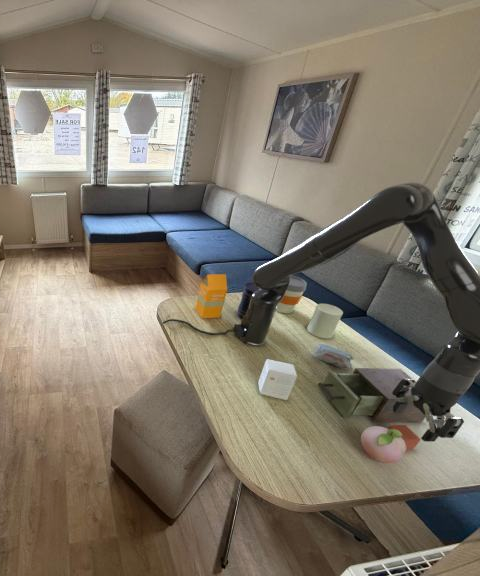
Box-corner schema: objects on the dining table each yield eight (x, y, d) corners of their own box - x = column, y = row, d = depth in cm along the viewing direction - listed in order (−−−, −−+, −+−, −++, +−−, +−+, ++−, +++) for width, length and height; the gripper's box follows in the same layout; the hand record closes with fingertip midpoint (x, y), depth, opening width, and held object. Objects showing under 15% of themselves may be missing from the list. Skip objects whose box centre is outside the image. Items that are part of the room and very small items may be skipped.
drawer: (329, 417, 91) (340, 398, 88) (306, 388, 101) (315, 370, 98) (389, 418, 92) (402, 400, 88) (360, 389, 102) (370, 371, 98)
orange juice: (195, 309, 145) (203, 270, 136) (212, 308, 146) (222, 270, 137) (201, 318, 138) (210, 278, 129) (220, 317, 139) (230, 278, 130)
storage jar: (234, 309, 146) (241, 281, 139) (255, 311, 145) (264, 283, 138) (239, 321, 137) (248, 292, 130) (262, 323, 136) (272, 294, 129)
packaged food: (349, 375, 109) (354, 364, 106) (310, 360, 115) (315, 349, 113) (351, 363, 115) (356, 352, 112) (314, 349, 121) (318, 339, 119)
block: (396, 450, 84) (404, 439, 81) (382, 435, 88) (389, 424, 85) (412, 450, 84) (421, 439, 82) (397, 435, 88) (405, 424, 85)
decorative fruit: (362, 435, 87) (378, 411, 82) (398, 459, 81) (418, 434, 76) (347, 452, 83) (363, 427, 78) (385, 478, 77) (405, 453, 72)
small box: (283, 388, 102) (294, 364, 97) (287, 401, 98) (298, 376, 93) (257, 382, 104) (266, 358, 100) (259, 394, 100) (268, 369, 95)
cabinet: (373, 422, 91) (388, 399, 87) (343, 389, 103) (355, 367, 98) (421, 422, 92) (439, 400, 87) (386, 390, 103) (400, 368, 98)
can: (336, 333, 131) (347, 310, 125) (326, 341, 126) (338, 316, 120) (312, 323, 137) (322, 300, 132) (302, 329, 133) (312, 306, 127)
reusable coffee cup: (295, 305, 151) (305, 277, 144) (298, 317, 141) (309, 289, 134) (266, 299, 156) (275, 272, 148) (267, 311, 145) (277, 283, 138)
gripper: (403, 360, 81) (375, 404, 88) (459, 404, 68) (421, 450, 76) (431, 361, 81) (400, 404, 88) (493, 404, 68) (451, 450, 76)
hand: (410, 425), depth 82 cm, fingers open, 8 cm apart
